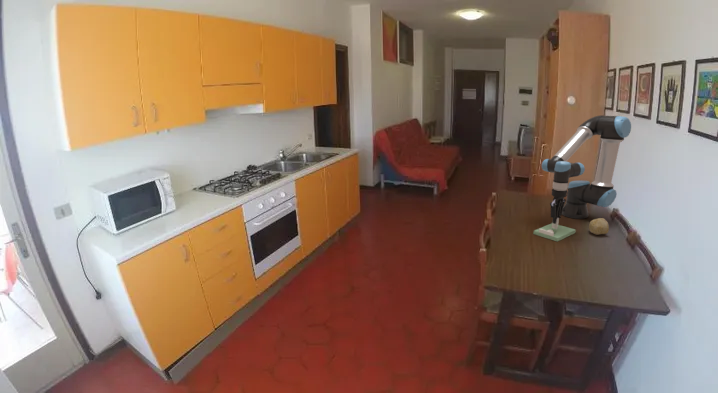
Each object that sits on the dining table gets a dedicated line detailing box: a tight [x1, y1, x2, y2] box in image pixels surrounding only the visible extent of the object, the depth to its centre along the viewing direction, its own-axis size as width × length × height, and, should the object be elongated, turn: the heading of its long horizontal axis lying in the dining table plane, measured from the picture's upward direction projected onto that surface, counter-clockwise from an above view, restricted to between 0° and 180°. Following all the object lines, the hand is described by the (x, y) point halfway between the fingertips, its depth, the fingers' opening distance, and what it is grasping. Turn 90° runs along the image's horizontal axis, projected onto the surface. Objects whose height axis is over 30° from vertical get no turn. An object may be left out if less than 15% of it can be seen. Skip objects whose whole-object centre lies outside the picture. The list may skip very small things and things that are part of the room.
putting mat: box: [533, 222, 577, 242], centre depth 211 cm, size 20×14×4 cm
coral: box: [588, 217, 610, 236], centre depth 208 cm, size 10×10×10 cm
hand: (554, 228), depth 211 cm, fingers closed
